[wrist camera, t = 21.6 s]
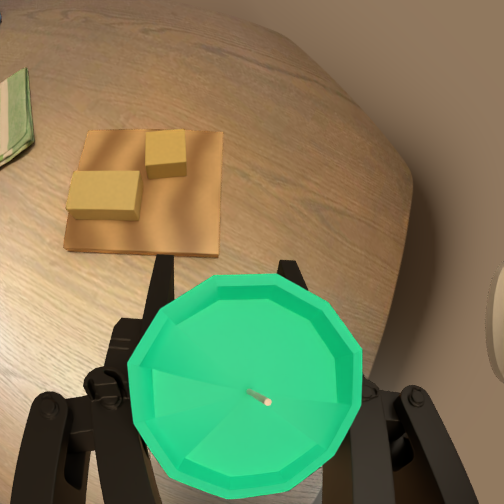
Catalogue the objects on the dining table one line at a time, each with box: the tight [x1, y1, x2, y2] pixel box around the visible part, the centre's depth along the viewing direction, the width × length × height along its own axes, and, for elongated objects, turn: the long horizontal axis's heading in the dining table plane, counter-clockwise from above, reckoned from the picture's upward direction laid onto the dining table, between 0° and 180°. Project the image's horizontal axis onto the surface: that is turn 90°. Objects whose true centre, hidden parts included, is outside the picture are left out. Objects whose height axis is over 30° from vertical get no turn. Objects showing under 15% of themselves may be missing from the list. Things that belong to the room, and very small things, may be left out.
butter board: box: [63, 129, 224, 257], centre depth 30 cm, size 16×14×2 cm
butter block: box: [66, 171, 144, 221], centre depth 27 cm, size 7×4×3 cm, turn 90°
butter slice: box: [145, 129, 187, 179], centre depth 29 cm, size 4×4×3 cm
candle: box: [127, 274, 362, 499], centre depth 11 cm, size 6×6×12 cm
